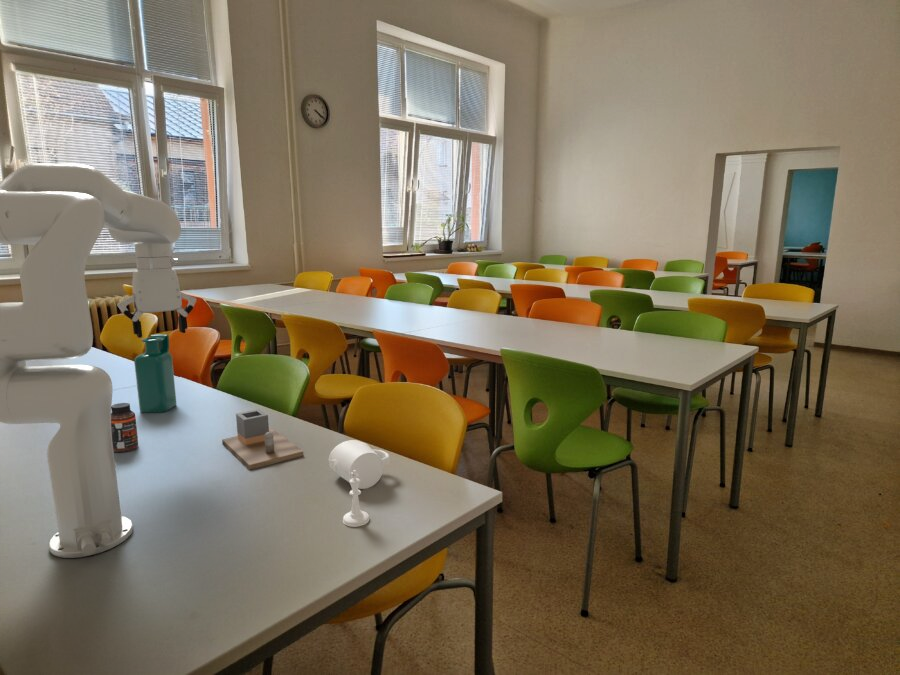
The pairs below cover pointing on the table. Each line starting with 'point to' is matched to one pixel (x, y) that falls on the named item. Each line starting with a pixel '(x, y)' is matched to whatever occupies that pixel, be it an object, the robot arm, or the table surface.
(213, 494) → the table surface
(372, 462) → the mug
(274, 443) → the pin board
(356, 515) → the chess piece
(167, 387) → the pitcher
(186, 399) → the table surface
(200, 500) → the table surface
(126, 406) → the supplement bottle
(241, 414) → the sleeve
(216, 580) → the table surface
